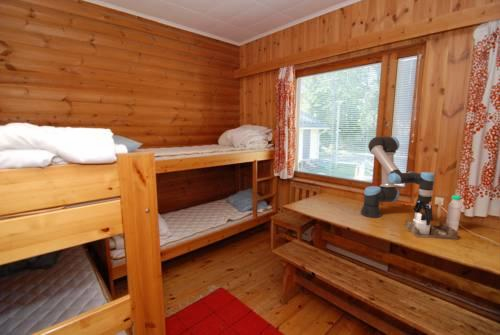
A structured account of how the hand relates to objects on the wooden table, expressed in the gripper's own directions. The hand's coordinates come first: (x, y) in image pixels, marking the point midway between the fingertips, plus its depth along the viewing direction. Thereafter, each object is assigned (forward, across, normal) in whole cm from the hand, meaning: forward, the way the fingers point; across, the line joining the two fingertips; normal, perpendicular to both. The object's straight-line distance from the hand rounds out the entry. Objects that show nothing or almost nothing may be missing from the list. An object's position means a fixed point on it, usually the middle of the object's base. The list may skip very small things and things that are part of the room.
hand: (421, 225), depth 165 cm
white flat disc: (+5, 0, +11) cm, 12 cm away
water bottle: (+6, -9, +25) cm, 27 cm away
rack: (+6, 0, +6) cm, 8 cm away
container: (+5, 0, 0) cm, 5 cm away
